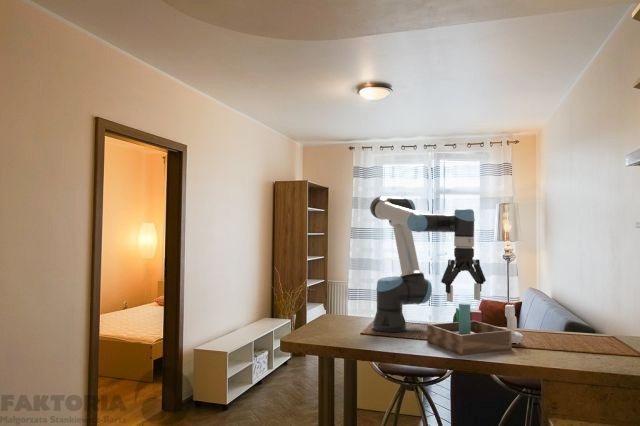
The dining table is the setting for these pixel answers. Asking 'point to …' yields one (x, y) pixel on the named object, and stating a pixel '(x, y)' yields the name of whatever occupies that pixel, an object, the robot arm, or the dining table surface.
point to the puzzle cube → (471, 315)
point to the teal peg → (464, 319)
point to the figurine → (512, 323)
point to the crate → (469, 338)
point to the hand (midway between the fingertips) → (463, 300)
